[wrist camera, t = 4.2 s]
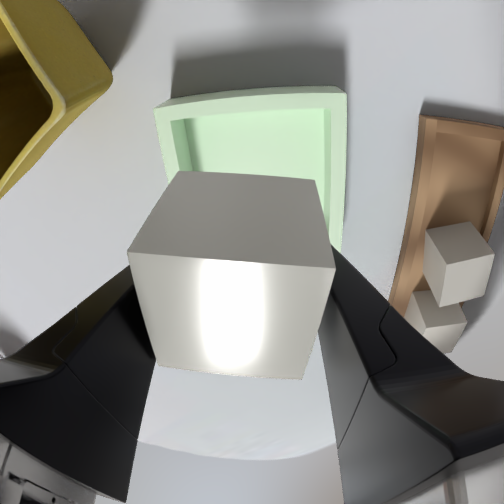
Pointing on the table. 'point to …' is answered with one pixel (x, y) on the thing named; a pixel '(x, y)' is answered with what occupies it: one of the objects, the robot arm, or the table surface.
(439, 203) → the walnut tray
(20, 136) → the flower pot
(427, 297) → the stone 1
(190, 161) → the green bin
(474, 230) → the white small cube
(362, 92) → the table surface
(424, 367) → the robot arm
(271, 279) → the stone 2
